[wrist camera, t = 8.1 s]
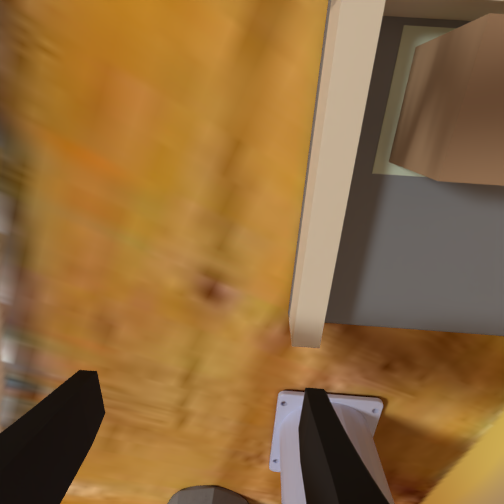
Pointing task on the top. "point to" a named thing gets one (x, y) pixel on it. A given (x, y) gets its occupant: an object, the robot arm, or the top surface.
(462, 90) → the walnut cube
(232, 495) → the coffeepot
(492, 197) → the grey corner tray
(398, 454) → the top surface
